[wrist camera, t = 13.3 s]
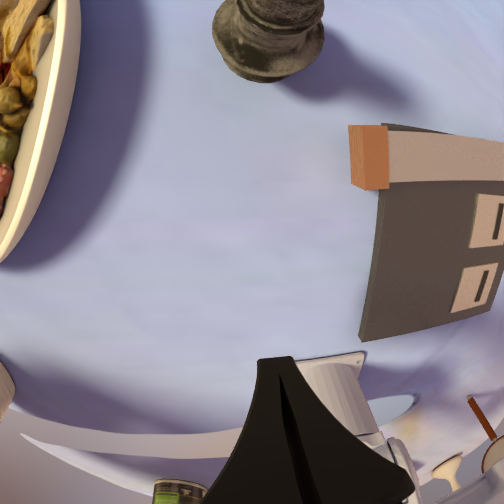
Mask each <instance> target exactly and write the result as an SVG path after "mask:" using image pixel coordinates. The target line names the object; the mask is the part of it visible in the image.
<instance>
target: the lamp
mask: <svg viewBox="0 0 504 504" xmlns="http://www.w3.org/2000/svg"><path fill="white" fill-rule="evenodd" d="M14 395H15V386H14V383H13V381H12V378H11V377H10V375H9V373H8V371H7V370H6V368H5V367H4V366H3V364H2V363H1V361H0V422H1V420H2V417H3V415H4V414H5V412H6V410H7V409H8V407H9V405H10V404H11V402H12V399H13V397H14Z"/></svg>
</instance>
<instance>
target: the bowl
mask: <svg viewBox="0 0 504 504" xmlns="http://www.w3.org/2000/svg"><path fill="white" fill-rule="evenodd" d="M80 43H81V9H80V0H0V263H1V262H2V261H3V260H4V259H5V258H6V257H7V256H8V255H9V253H10V252H11V251H12V250H13V249H14V247H15V246H16V245H17V243H18V242H19V240H20V239H21V237H22V236H23V234H24V233H25V231H26V229H27V228H28V226H29V224H30V222H31V221H32V219H33V217H34V215H35V213H36V211H37V208H38V206H39V204H40V202H41V200H42V197H43V195H44V193H45V190H46V188H47V185H48V182H49V180H50V177H51V174H52V171H53V169H54V166H55V163H56V160H57V156H58V153H59V150H60V147H61V143H62V140H63V136H64V133H65V129H66V125H67V121H68V117H69V112H70V108H71V104H72V99H73V94H74V89H75V83H76V77H77V70H78V63H79V55H80Z"/></svg>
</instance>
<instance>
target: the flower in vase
mask: <svg viewBox="0 0 504 504" xmlns="http://www.w3.org/2000/svg"><path fill="white" fill-rule="evenodd" d="M461 460H462V456H456V457H454V458H452V459H450V460H448V461H446V462H445V463H443V464H442V465H440V466H439V467H438V468H436V469H435V470H434V471H433V472H432V474H431V476H432V477H433V478H440V479H447V480H448V481H449V482H450V484H451V486H452V491H453V492H454V491H456V490H458V489H459V488H461V486H460V485H459V484H458V482H457V480H456V477H455V474H456V471H457V469H458V467H459V465H460V463H461Z"/></svg>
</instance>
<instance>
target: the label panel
mask: <svg viewBox="0 0 504 504" xmlns="http://www.w3.org/2000/svg"><path fill="white" fill-rule="evenodd" d="M381 126H387V128H388V131H411V132H426V133H438V134H448V133H443V132H438V131H433V130H427V129H422V128H416V127H410V126H403V125H396V124H389V123H381ZM448 135H452V134H448ZM503 271H504V181H497V180H445V181H412V182H390V183H389V189H379V200H378V212H377V222H376V232H375V240H374V248H373V256H372V263H371V270H370V276H369V282H368V288H367V294H366V299H365V305H364V310H363V315H362V320H361V325H360V329H359V334H358V336H359V338H360V340H361V342H368V341H373V340H378V339H383V338H388V337H393V336H398V335H402V334H407V333H411V332H416V331H420V330H424V329H428V328H432V327H436V326H440V325H443V324H447V323H451V322H454V321H458V320H461V319H465V318H468V317H471V316H475V315H478V314H481V313H484V312H487V311H490V308H491V306H492V303H493V300H494V298H495V295H496V292H497V289H498V286H499V283H500V280H501V277H502V274H503Z"/></svg>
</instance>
